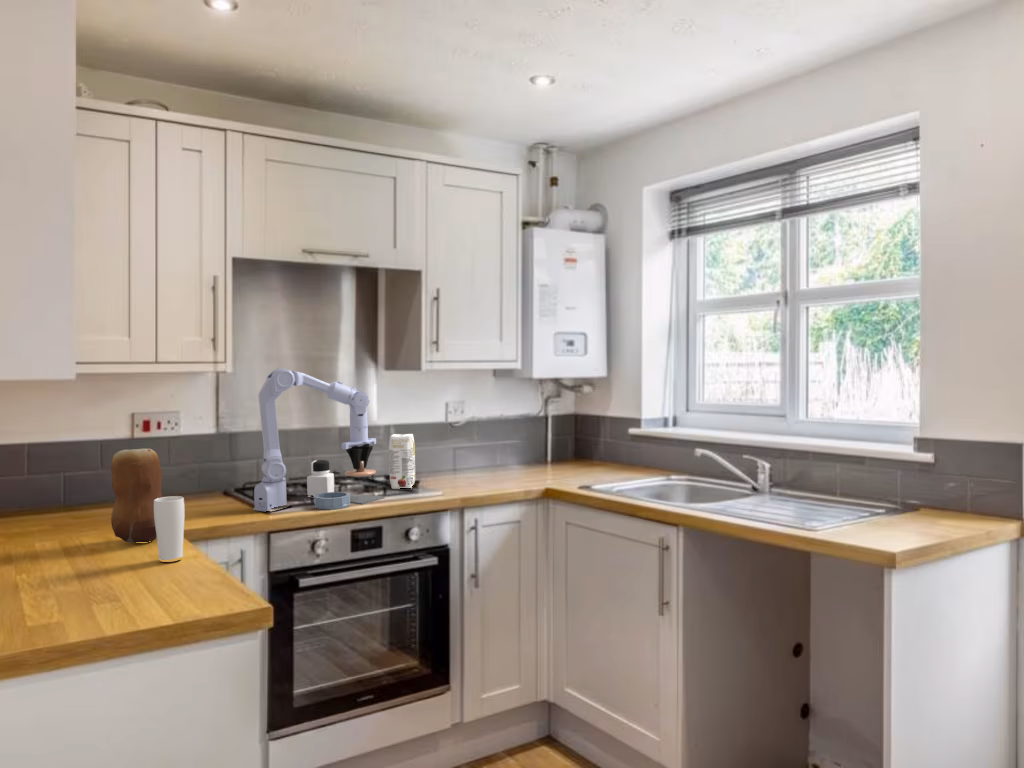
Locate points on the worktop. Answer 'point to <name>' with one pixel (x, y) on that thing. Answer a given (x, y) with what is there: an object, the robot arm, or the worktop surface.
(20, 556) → the worktop surface
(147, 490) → the butternut squash
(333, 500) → the bowl
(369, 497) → the mat
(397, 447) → the juice carton
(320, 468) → the medicine bottle
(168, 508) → the drinking glass
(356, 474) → the lid
